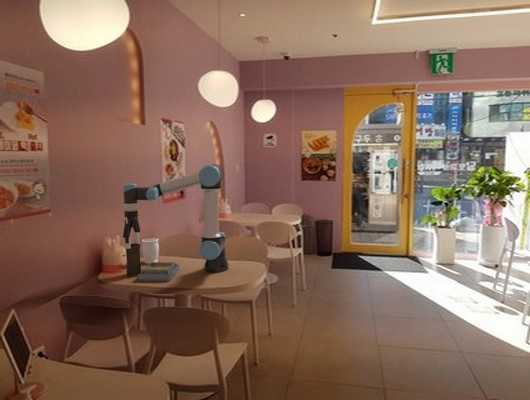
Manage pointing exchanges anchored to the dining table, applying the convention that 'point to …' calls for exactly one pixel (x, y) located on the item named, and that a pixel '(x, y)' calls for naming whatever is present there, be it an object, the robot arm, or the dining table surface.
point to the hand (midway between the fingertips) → (132, 245)
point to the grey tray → (159, 271)
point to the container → (133, 260)
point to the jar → (150, 250)
